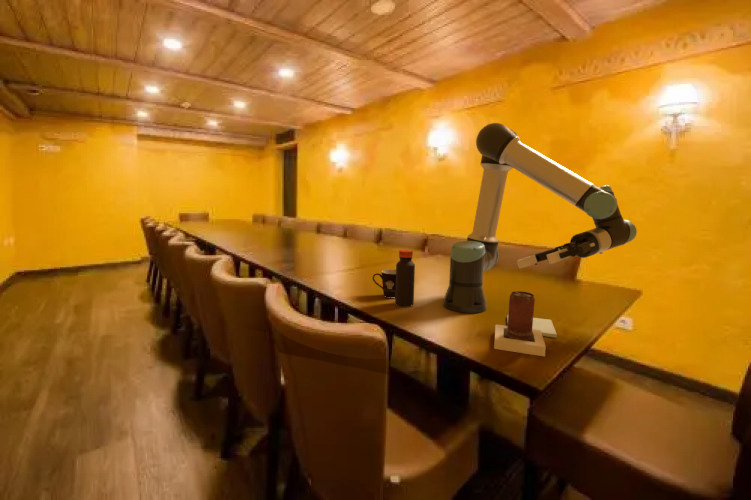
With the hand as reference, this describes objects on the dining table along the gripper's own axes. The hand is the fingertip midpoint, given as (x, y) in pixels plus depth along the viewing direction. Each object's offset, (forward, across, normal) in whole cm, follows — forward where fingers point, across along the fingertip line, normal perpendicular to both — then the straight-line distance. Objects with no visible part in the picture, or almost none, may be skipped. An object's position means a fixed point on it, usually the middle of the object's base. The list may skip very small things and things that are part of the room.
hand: (532, 262), depth 100 cm
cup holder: (+14, -3, -19) cm, 24 cm away
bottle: (+31, +35, -4) cm, 47 cm away
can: (+14, -2, -19) cm, 24 cm away
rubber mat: (+3, +8, -19) cm, 21 cm away
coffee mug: (+33, +47, +1) cm, 57 cm away
